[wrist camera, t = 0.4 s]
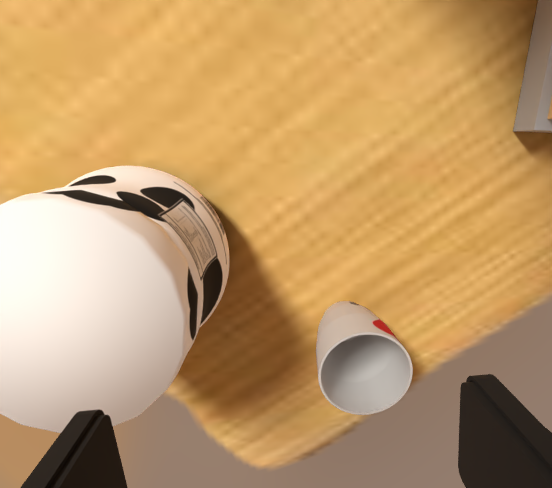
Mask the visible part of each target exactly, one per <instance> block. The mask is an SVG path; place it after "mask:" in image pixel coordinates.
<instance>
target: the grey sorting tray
mask: <svg viewBox="0 0 552 488" xmlns="http://www.w3.org/2000/svg"><path fill="white" fill-rule="evenodd" d="M551 98H552V0H538V3H537V8H536V13H535V18H534V24H533V29H532V34H531V40H530V45H529V50H528V55H527V61H526V66H525V71H524V77H523V82H522V87H521V93H520V98H519V103H518V108H517V114H516V119H515V124H514V130H513V131H518V132H545V133H552V119H547V117H548V113H549V108H550V103H551Z"/></svg>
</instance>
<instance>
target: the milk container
mask: <svg viewBox="0 0 552 488" xmlns="http://www.w3.org/2000/svg"><path fill="white" fill-rule="evenodd" d="M229 258H230V257H229V247H228V241H227V237H226V234H225V231H224V228H223V225H222V223H221V221H220V219H219V217H218V215H217V214H216V212H215V210H214V209H213V207H212V206H211V205H210V203H209V202H208V201H207V200H206V199H205V198H204V197H203V196H202V195H201V194H200V193H199V192H198V191H197V190H196V189H194V188H193V187H192V186H190V185H189V184H188V183H186V182H184V181H183V180H181V179H179V178H177V177H175V176H173V175H171V174H168V173H166V172H163V171H160V170H157V169H152V168H147V167H140V166H116V167H108V168H104V169H100V170H97V171H93V172H91V173H88V174H86V175H83V176H81V177H79V178H77V179H76V180H74V181H72V182H71V183H69V184H68V185H66V186H65V187H62V188H56V189H51V190H47V191H44V192H40V193H32V194H26V195H23V196H20V197H18V198H15V199H12V200H10V201H8V202H5V203H3V204H1V205H0V414H2V415H4V416H6V417H8V418H10V419H12V420H14V421H15V422H17V423H19V424H22V425H26V426H30V427H35V428H40V429H44V430H49V431H54V432H58V433H61V432H62V431H63V430H64V428H65V427H66V426H67V424H68V423H69V422H70V420H71V419H72V418H73V416H74V415H75V414H76V413H77V412H79V411H87V410H98V409H100V410H102V411H103V412H104V414H105V415H109V416H110V418H111V422H112V426H115V425H117V424H120V423H122V422H125V421H127V420H130V419H132V418H135V417H137V416H139V415H140V414H141V413H142V412H143V411H144V410H145V409H146V408H148V407H149V406H150V405H151V404H152V403H153V402H154V401H155V400H156V399H157V398H158V397H159V396H161V395H162V394H163V393H164V392H165V391H166V390H167V389H168V387H169V386H170V385H171V384H172V382H173V380H174V379H175V377H176V376H177V374H178V372H179V370H180V368H181V366H182V364H183V361H184V359H185V357H186V355H187V353H188V352H189V350H190V348H191V347H192V345H193V343H194V341H195V338H196V336H197V333H198V331H199V328H200V327H201V326H202V325H203V324H204V323H205V322H206V321H207V320H208V319H209V317H210V316H211V315H212V313H213V312H214V310H215V309H216V307H217V305H218V304H219V302H220V300H221V298H222V295H223V293H224V290H225V287H226V284H227V279H228V274H229Z"/></svg>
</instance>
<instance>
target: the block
mask: <svg viewBox="0 0 552 488" xmlns="http://www.w3.org/2000/svg"><path fill="white" fill-rule="evenodd" d="M547 119H552V98H551V103H550V108H549V113H548V117H547Z"/></svg>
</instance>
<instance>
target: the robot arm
mask: <svg viewBox="0 0 552 488" xmlns="http://www.w3.org/2000/svg"><path fill="white" fill-rule="evenodd" d="M458 468H459V473H460V476H461V479H462V481H463V483H464V485H465V487H466V488H552V433H551V432H550V431H549V430H548V429H547V428H545V427H544V426H543V425H542V424H541V423H540V422H539V421H538V420H537V419H536V418H535V417H534V416H533V415H532V414H531V413H530V412H529V411H528V410H527V409H526V408H525V407H524V406H523V405H522V404H521V403H520V401H518V400H517V398H516V397H515V396H514V395H513V394H512V393H511V392H510V391H509V390H508V389H507V388H506V387H505V386H504V385H503V384H502V383H501V382H500V381H499V380H498V379H497V378H496V377H495V376H493V375H491V374H488V375H477V376H469V377H468V378H467V381H466V382H465V383H462V384H461V394H460V425H459V457H458ZM21 488H127V484H126V480H125V475H124V471H123V467H122V463H121V459H120V455H119V451H118V447H117V443H116V439H115V435H114V430H113V426H112V422H111V418H110V416H109V415H105V414H104V412H103V411H102V410H100V409H98V410H87V411H79V412H77V413H76V414H75V415H74V416H73V418H72V419H71V420H70V422H69V423H68V424H67V426H66V427H65V428H64V430H63V431H62V432H61V434H60V435H59V437H58V438H57V439H56V441H55V442H54V443H53V445H52V446H51V447H50V449H49V450H48V451H47V453H46V454H45V455H44V457H43V458H42V459H41V461H40V462H39V464H38V465H37V466H36V467H35V469H34V470H33V472H32V473H31V474H30V476H29V477H28V478H27V480H26V481H25V482H24V484H23V485H22V487H21Z"/></svg>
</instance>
